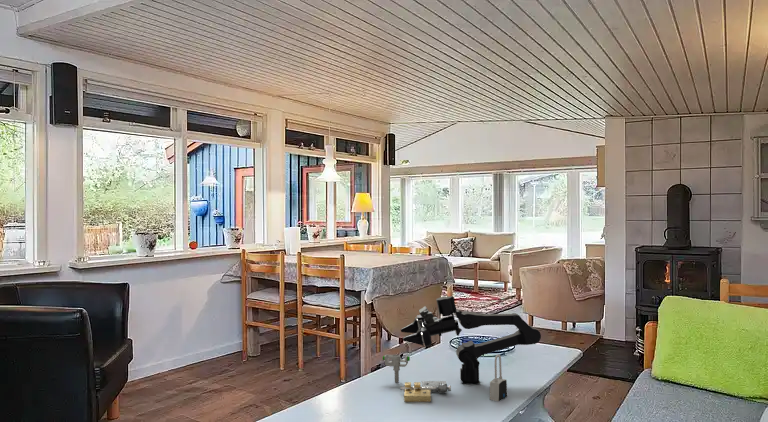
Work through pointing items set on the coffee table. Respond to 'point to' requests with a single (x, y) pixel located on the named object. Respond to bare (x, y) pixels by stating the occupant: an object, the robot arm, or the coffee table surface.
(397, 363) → the mechanical component
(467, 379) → the robot arm
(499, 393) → the padlock
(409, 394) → the loose leaf
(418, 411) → the coffee table surface
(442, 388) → the fixed leaf
